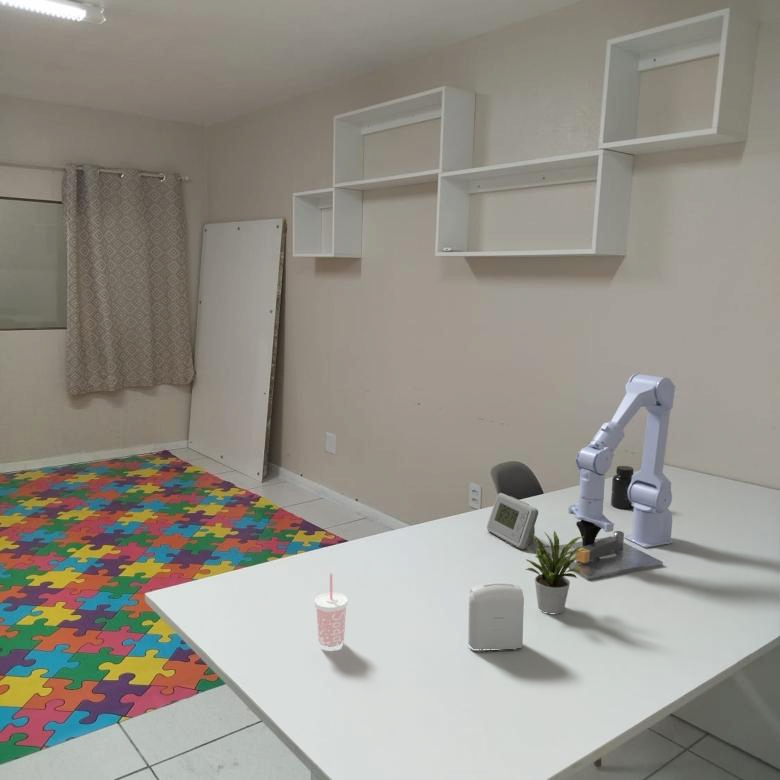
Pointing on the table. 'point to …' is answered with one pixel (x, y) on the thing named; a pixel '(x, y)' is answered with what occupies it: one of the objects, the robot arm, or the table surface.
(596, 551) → the swing bar
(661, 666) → the table surface
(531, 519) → the digital clock
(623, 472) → the supplement bottle
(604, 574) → the grey lever board
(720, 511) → the table surface
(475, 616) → the photo printer
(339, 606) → the beverage cup
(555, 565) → the house plant
